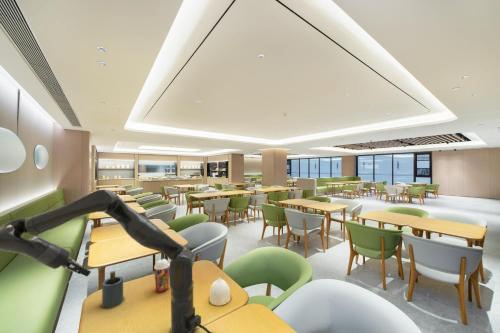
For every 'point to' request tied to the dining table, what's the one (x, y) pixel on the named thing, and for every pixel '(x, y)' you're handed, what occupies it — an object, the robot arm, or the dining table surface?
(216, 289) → the white rounded dome
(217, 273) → the dining table surface
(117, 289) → the jar
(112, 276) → the brush
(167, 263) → the smoothie
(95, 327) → the dining table surface
